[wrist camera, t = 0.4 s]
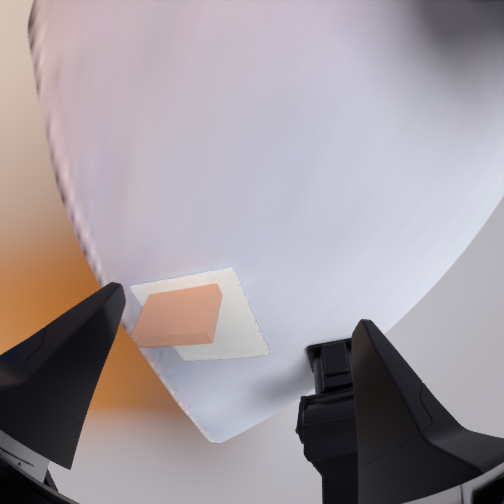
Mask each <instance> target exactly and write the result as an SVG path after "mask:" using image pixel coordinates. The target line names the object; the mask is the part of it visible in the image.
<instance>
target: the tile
mask: <svg viewBox="0 0 504 504" xmlns="http://www.w3.org/2000/svg"><path fill="white" fill-rule="evenodd" d="M222 296H223V294H222V292H221V290H220V288H219V286H218V284H217V283H215V284H209V285H203V286H197V287H191V288H185V289H179V290H173V291H167V292H160V293H154V294H149V296H148V298H147V301H146V303H145V305H144V307H143V309H142V311H141V314H140V316H139V318H138V320H137V323H136V325H135V327H134V330H133V332H132V334H131V336H130V338H131V339H132V340H133V341H134V342H135V343H136V345H137V346H138V347H167V346H185V345H199V344H211V343H213V341H214V336H215V331H216V326H217V321H218V316H219V311H220V306H221V301H222Z"/></svg>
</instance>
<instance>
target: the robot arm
mask: <svg viewBox="0 0 504 504" xmlns="http://www.w3.org/2000/svg"><path fill="white" fill-rule="evenodd" d="M125 303H126V299H125V295H124V290H123V286H122V285H121V284H120V283H115V282H111V283H109V284H108V285H106V286H104V287H103V288H101V289H100V290H98V291H97V292H95V293H94V294H92V295H91V296H89V297H88V298H86V299H85V300H83V301H82V302H80V303H79V304H77V305H76V306H74V307H73V308H71V309H70V310H68V311H67V312H65V313H64V314H62V315H61V316H59V317H58V318H56V319H55V320H54V321H52V322H51V323H49V324H48V325H46V326H45V328H42V329H41V330H39V331H38V332H37V333H35V334H33V335H32V336H31V337H29V338H28V339H26V340H25V341H23V342H21V343H20V344H18V345H16V346H14V347H13V348H11V349H9V350H8V351H6V352H4V353H3V354H1V355H0V504H79V503H77V502H75V501H73V500H71V499H69V498H68V497H66V496H64V495H62V494H60V493H59V492H58V489H57V488H56V485H55V483H54V481H53V479H52V477H51V475H50V473H49V470H48V465H49V461H52V462H54V463H56V464H58V465H60V466H62V467H64V468H67V469H69V470H70V469H71V466H72V462H73V459H74V455H75V451H76V447H77V444H78V441H79V437H80V434H81V430H82V426H83V423H84V420H85V417H86V414H87V411H88V408H89V405H90V402H91V399H92V396H93V393H94V390H95V388H96V385H97V382H98V380H99V377H100V374H101V372H102V369H103V366H104V364H105V361H106V359H107V356H108V354H109V351H110V349H111V346H112V344H113V342H114V339H115V336H116V333H117V330H118V326H119V323H120V320H121V317H122V313H123V310H124V307H125ZM307 351H308V355H309V359H310V364H311V368H312V372H313V373H314V378H315V392H316V394H315V395H310V396H301V402H300V404H299V413H298V421H297V427H296V433H297V434H298V435H299V437H300V441H301V443H302V444H304V455H305V457H306V459H307V460H308V461H309V462H311V463H312V464H313V466H314V467H315V468H316V469H317V471H318V472H319V473H320V474H321V476H322V498H323V499H322V500H323V501H322V502H323V504H504V438H498V437H494V436H490V435H485V434H481V433H477V432H473V431H470V430H467V429H465V428H464V427H462V426H461V425H460V424H459V423H458V422H457V421H456V420H455V418H454V417H453V416H452V415H451V414H450V413H449V412H448V411H447V410H446V409H445V408H444V407H443V406H442V405H441V404H440V402H439V401H438V400H437V399H436V398H435V397H434V395H433V394H432V393H431V392H430V390H429V389H428V388H427V387H426V385H425V384H424V383H422V381H421V379H420V378H419V377H418V376H417V374H416V373H415V372H414V371H413V369H412V368H411V367H410V366H409V364H408V363H407V362H406V361H405V360H404V359H403V357H402V356H401V355H400V353H399V352H398V351H397V350H396V349H395V347H394V346H393V345H392V344H391V343H390V342H389V340H388V339H387V338H386V337H385V336H384V334H383V333H382V332H381V331H380V330H379V329H378V327H377V326H376V325H375V324H374V323H373V322H372V321H371V320H367V319H361V320H360V321H359V323H358V324H357V326H356V328H355V330H354V331H353V333H352V338H350V339H345V340H340V341H335V342H329V343H324V344H318V345H312V346H309V347H308V348H307Z"/></svg>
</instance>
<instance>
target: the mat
mask: <svg viewBox="0 0 504 504" xmlns="http://www.w3.org/2000/svg"><path fill="white" fill-rule="evenodd" d="M215 283H217V284H218V286H219V288H220V290H221V292H222V294H223V296H222V301H221V306H220V311H219V316H218V321H217V326H216V331H215V336H214V341H213V343H211V344H199V345H185V346H173V348H174V349H175V350H176V351H177V353H178V354H179V355H180V356H181V358H182V359H183V360H184V361H201V360H218V359H231V358H243V357H253V356H262V355H269V349H268V347H267V345H266V342H265V340H264V338H263V335H262V333H261V331H260V329H259V326H258V324H257V322H256V319H255V317H254V315H253V312H252V310H251V308H250V305H249V303H248V300H247V298H246V296H245V293H244V291H243V289H242V286H241V284H240V281H239V279H238V277H237V274H236V272H235V269H234V267H229V268H223V269H218V270H213V271H207V272H202V273H197V274H191V275H186V276H181V277H175V278H170V279H164V280H159V281H153V282H148V283H142V284H137V285H132V286H131V288H130V289H131V291H132V292H133V294H134V295H135V296H136V298H137V299H138V301H139V302H140V304H141V305H142V306H143V307H144V305H145V303H146V301H147V298H148V296H149V294H154V293H160V292H167V291H173V290H179V289H185V288H191V287H197V286H203V285H209V284H215Z"/></svg>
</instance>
